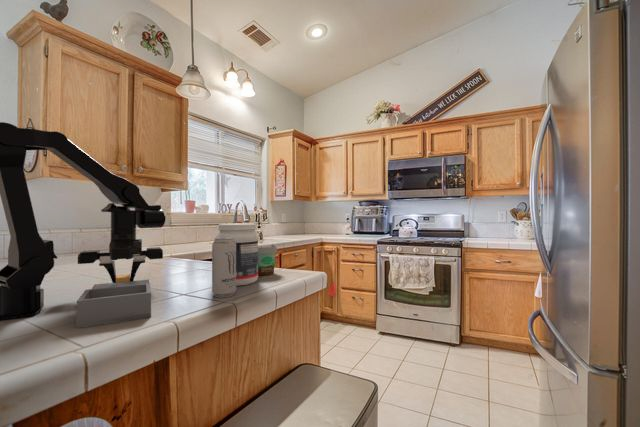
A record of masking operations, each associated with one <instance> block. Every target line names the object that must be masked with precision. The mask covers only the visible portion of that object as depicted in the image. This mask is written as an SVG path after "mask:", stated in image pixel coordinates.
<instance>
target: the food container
mask: <svg viewBox="0 0 640 427" xmlns="http://www.w3.org/2000/svg"><path fill="white" fill-rule="evenodd" d="M277 252H278V248H277V245H276V244H271V246H267V247H266V246H265V247H264V246H263V247H262V246H261V247H258V276H259V277H268V276H269V275H270V276H273V275H274V272H275V264H276V263H275V262H276V253H277Z"/></svg>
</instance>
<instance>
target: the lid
mask: <svg viewBox="0 0 640 427" xmlns="http://www.w3.org/2000/svg"><path fill="white" fill-rule="evenodd" d="M130 276H131V273H129V274H116V283H113V282H107V283H96V284H94V285H93V286H91V289H98V288H108V287H118V286H128V285H138V284H148V283H150V279H141V280H133V281H130Z"/></svg>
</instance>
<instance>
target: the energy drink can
mask: <svg viewBox="0 0 640 427" xmlns="http://www.w3.org/2000/svg"><path fill="white" fill-rule="evenodd" d="M211 245H212V247H211V248H212V249H211V250H212V251H211V255H212V256H211V262H212V263H211V265H212V266H211V271H212V272H211V283H212V284H211V293H212V294H213V295H214V297H215V298H229V297H233V296H234V295H235V292H236V291H237V286H236V243H235V241H234V238H233V237H220V238H216V237H215V238H214V241H213V243H212V244H211Z"/></svg>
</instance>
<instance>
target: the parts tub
mask: <svg viewBox="0 0 640 427" xmlns="http://www.w3.org/2000/svg"><path fill="white" fill-rule="evenodd" d="M151 317H152V288H151V283H150V282H149V283H148V284H138V285H128V286H118V287H108V288H98V289H92V288H89V289H85V290H84V291H83V292H82V293H81V295H80V296H79V298H78V299H77V300H76V329H81V328H87V327H93V326H95V327H96V326H102V325H107V324H114V323H119V322H126V321H134V320H141V319H147V318H151Z"/></svg>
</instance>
